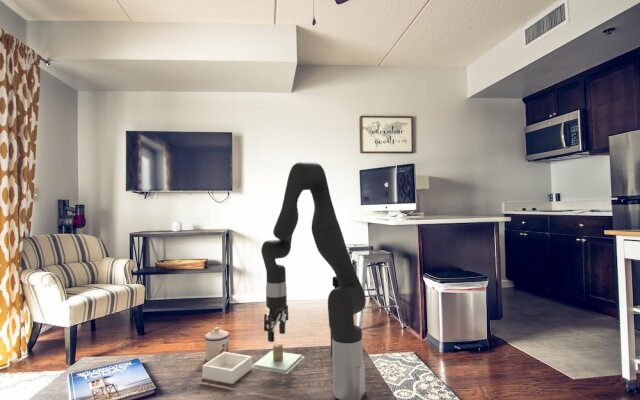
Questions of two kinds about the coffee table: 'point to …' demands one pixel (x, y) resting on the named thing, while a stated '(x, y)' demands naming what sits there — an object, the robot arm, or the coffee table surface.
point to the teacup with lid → (216, 343)
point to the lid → (278, 359)
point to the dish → (227, 367)
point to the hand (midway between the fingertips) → (276, 337)
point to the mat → (280, 371)
